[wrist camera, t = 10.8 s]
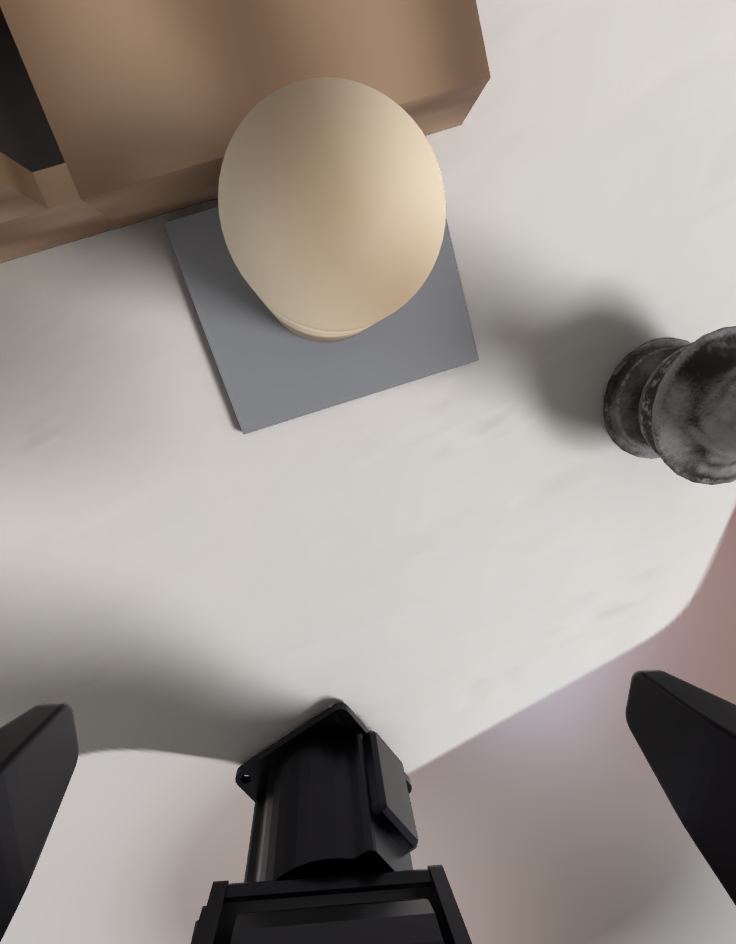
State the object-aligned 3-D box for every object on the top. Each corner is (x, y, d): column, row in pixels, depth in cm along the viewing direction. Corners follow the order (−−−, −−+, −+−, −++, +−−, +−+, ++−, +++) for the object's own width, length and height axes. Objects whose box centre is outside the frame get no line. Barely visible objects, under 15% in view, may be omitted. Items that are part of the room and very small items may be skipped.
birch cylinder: (308, 367, 18) (306, 372, 10) (233, 254, 17) (168, 166, 9) (410, 297, 18) (485, 250, 10) (342, 179, 17) (368, 24, 9)
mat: (426, 147, 17) (428, 143, 17) (475, 360, 19) (478, 360, 19) (166, 226, 17) (163, 223, 17) (244, 432, 19) (243, 434, 19)
